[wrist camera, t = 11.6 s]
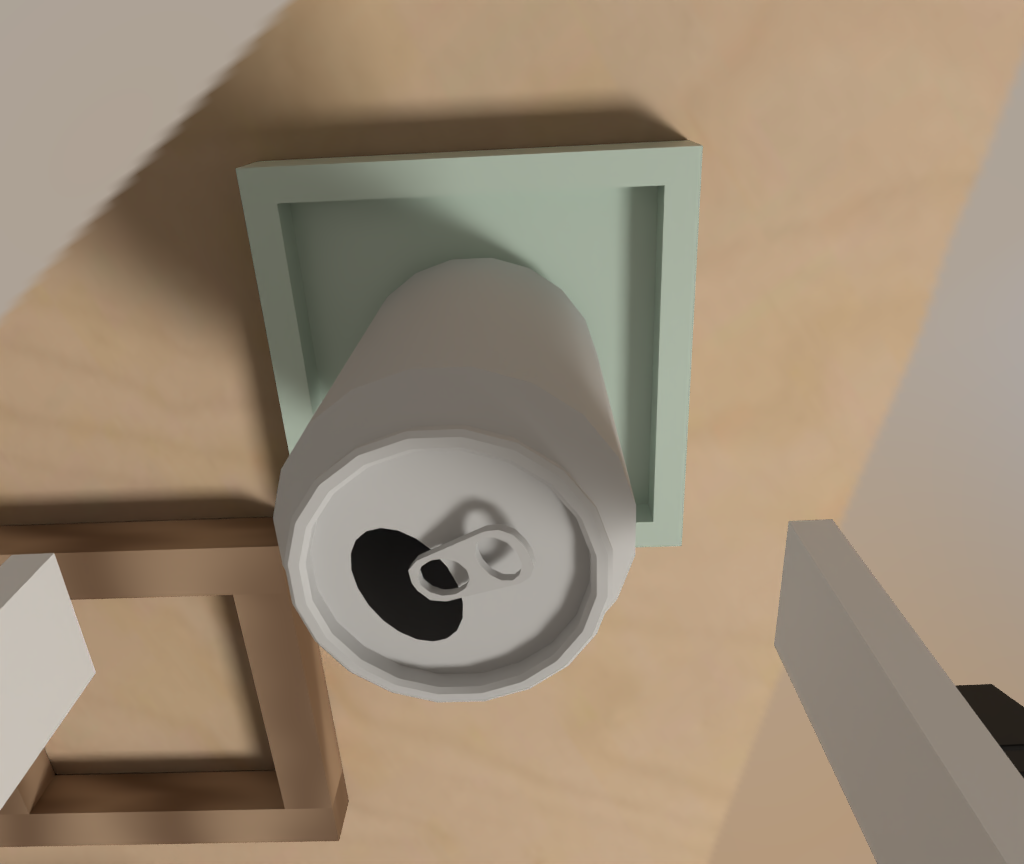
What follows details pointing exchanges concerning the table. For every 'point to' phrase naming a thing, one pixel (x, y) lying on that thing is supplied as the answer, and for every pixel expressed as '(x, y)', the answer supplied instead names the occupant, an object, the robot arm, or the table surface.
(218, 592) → the holder
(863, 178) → the table surface
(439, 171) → the tray
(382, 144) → the table surface
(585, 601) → the can
